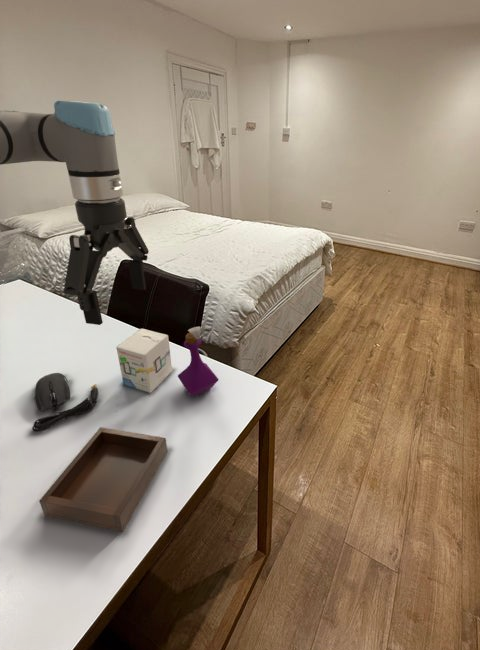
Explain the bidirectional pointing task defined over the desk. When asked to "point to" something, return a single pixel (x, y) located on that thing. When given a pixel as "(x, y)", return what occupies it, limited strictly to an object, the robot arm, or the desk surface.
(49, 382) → the computer mouse
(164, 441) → the wooden tray
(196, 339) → the perfume bottle
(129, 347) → the ink box
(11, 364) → the desk surface
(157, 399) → the desk surface
